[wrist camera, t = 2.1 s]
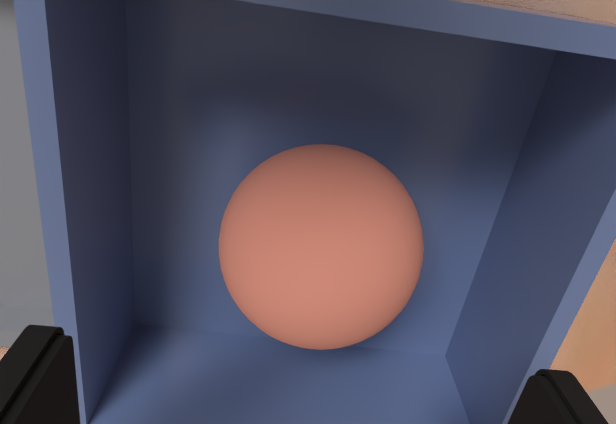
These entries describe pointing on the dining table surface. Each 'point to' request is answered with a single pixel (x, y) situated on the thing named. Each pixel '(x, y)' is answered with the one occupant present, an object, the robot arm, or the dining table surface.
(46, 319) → the tray
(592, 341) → the dining table surface
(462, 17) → the blue storage bin
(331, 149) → the ball
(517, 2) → the dining table surface
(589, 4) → the dining table surface
